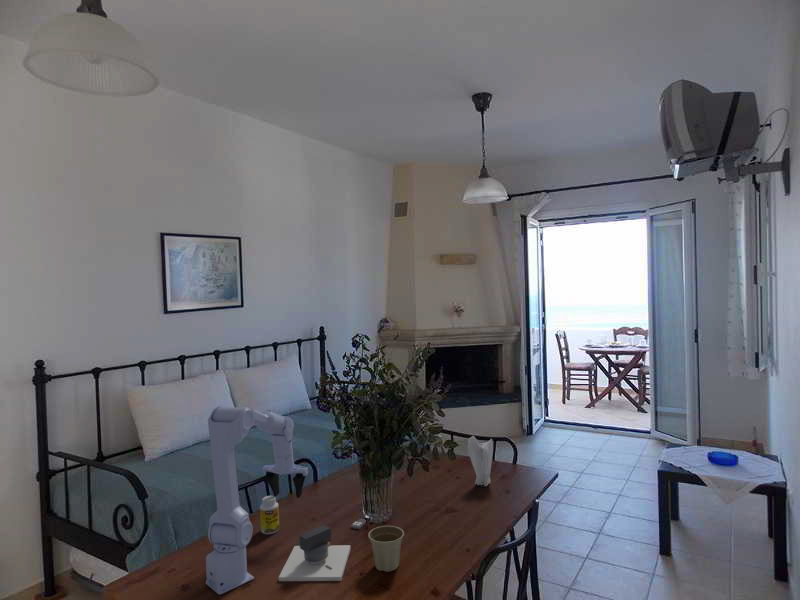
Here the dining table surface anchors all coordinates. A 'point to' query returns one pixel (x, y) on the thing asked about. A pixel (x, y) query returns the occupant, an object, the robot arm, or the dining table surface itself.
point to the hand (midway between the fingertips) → (288, 495)
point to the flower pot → (386, 547)
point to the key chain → (358, 524)
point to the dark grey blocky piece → (316, 543)
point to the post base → (316, 565)
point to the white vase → (481, 459)
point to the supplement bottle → (269, 515)
